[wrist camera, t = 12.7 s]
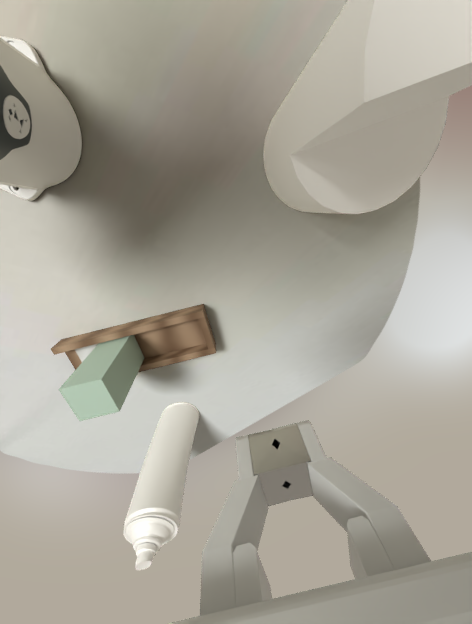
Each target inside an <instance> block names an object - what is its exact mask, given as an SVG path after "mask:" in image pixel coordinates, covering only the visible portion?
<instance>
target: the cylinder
mask: <svg viewBox="0 0 472 624" xmlns="http://www.w3.org/2000/svg"><path fill="white" fill-rule="evenodd" d="M471 85H472V0H348V1H347V2H346V4H345V6H344V7H343V9H342V10H341V12H340V13H339V15H338V16H337V18H336V20H335V21H334V23H333V24H332V26H331V27H330V29H329V30H328V32H327V34H326V35H325V37H324V38H323V40H322V41H321V43H320V45H319V46H318V48H317V49H316V51H315V52H314V54H313V55H312V57H311V59H310V60H309V62H308V63H307V65H306V66H305V68H304V69H303V71H302V73H301V74H300V76H299V77H298V79H297V80H296V82H295V84H294V85H293V87H292V88H291V90H290V91H289V93H288V94H287V96H286V98H285V99H284V101H283V102H282V104H281V105H280V107H279V109H278V110H277V112H276V114H275V115H274V117H273V119H272V120H271V122H270V125H269V128H268V131H267V134H266V137H265V142H264V152H263V160H264V168H265V174H266V176H267V179H268V182H269V184H270V187H271V188H272V190H273V191H274V193H275V194H276V195H277V197H278V198H279V199H280V200H281V201H282V202H284V203H285V204H286V205H287V206H289V207H290V208H293V209H296V210H298V211H301V212H311V213H337V214H361V213H366V212H370V211H375V210H378V209H380V208H382V207H384V206H386V205H388V204H390V203H392V202H394V201H395V200H396V199H398V198H399V197H400V196H401V195H402V194H404V193H405V192H406V191H407V190H409V189H410V188H411V187H412V186H413V184H414V183H415V182H416V181H417V180H418V178H419V177H420V176H421V175H422V173H423V172H424V171H425V170H426V168H427V166H428V165H429V163H430V161H431V159H432V157H433V155H434V153H435V152H436V150H437V148H438V145H439V142H440V139H441V136H442V133H443V130H444V127H445V124H446V118H447V110H448V102H449V96H450V95H453V94H455V93H457V92H459V91H461V90H463V89H465V88H467V87H469V86H471Z"/></svg>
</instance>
